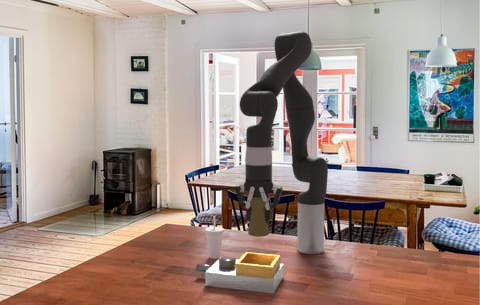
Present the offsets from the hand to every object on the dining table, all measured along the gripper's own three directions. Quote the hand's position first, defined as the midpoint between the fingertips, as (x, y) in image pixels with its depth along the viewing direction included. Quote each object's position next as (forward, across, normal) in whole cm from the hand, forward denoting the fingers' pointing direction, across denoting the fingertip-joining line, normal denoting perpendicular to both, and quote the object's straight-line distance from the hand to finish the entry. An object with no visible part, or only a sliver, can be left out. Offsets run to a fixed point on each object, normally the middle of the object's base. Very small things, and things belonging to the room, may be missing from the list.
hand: (258, 221), depth 139 cm
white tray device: (+18, +7, 0) cm, 19 cm away
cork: (+4, 0, 0) cm, 4 cm away
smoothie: (+18, +20, -18) cm, 33 cm away
